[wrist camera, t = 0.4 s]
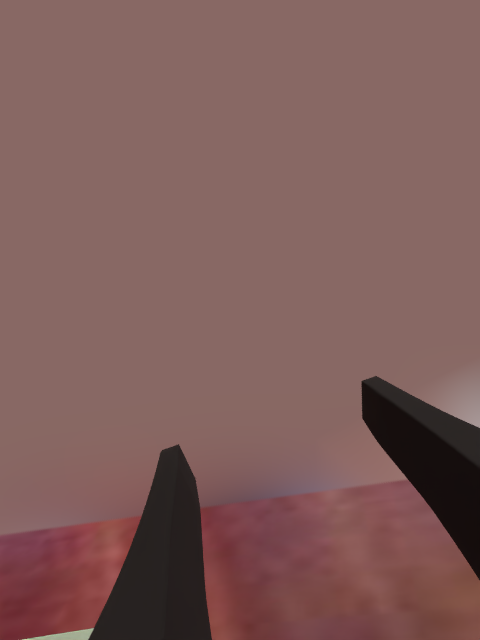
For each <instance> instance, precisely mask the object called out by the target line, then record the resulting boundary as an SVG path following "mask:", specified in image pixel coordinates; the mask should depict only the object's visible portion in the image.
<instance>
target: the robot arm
mask: <svg viewBox="0 0 480 640" xmlns="http://www.w3.org/2000/svg"><path fill="white" fill-rule="evenodd" d="M362 418H363V420H364V421H365V423H366V425H367V426H368V428H369V430H370V431H371V433H372V434H373V436H374V437H375V439H376V440H377V442H378V443H379V444H380V445H381V447H382V448H383V449H384V451H385V452H386V453H387V454H388V455H389V457H390V458H391V459H392V460H393V462H394V463H395V464H396V465H397V466H398V468H399V469H400V470H401V471H402V473H403V474H404V475H405V476H406V477H407V479H408V480H409V481H410V482H411V483H412V485H413V486H414V487H415V488H416V490H417V491H418V492H419V493H420V494H421V496H422V497H423V498H424V499H425V501H426V502H427V503H428V505H429V506H430V507H431V509H432V510H433V511H434V513H435V514H436V516H437V517H438V519H439V520H440V522H441V523H442V524H443V526H444V527H445V529H446V530H447V532H448V533H449V535H450V536H451V537H452V539H453V540H454V542H455V543H456V545H457V546H458V548H459V549H460V551H461V552H462V554H463V555H464V557H465V558H466V560H467V561H468V563H469V564H470V566H471V567H472V569H473V571H474V572H475V574H476V575H477V577H478V578H479V580H480V428H478V427H476V426H474V425H471V424H469V423H467V422H465V421H463V420H460V419H458V418H456V417H454V416H452V415H450V414H448V413H446V412H443V411H441V410H439V409H437V408H435V407H433V406H431V405H429V404H427V403H425V402H424V401H422V400H420V399H418V398H416V397H414V396H412V395H410V394H408V393H407V392H405V391H403V390H401V389H399V388H397V387H395V386H393V385H392V384H390V383H388V382H386V381H384V380H382V379H381V378H379V377H377V376H375V377H372V378H369V379H366V380H363V381H362ZM88 640H212V638H211V630H210V623H209V616H208V609H207V601H206V591H205V580H204V563H203V546H202V529H201V514H200V504H199V498H198V492H197V486H196V480H195V477H194V475H193V473H192V471H191V469H190V467H189V464H188V463H187V461H186V458H185V456H184V454H183V452H182V450H181V448H180V446H179V445H176V446H173V447H170V448H168V449H164V450H162V451H161V453H160V457H159V461H158V465H157V469H156V472H155V476H154V479H153V483H152V486H151V490H150V493H149V496H148V499H147V502H146V505H145V508H144V511H143V514H142V517H141V520H140V523H139V526H138V528H137V531H136V534H135V536H134V539H133V542H132V544H131V547H130V550H129V552H128V555H127V557H126V559H125V562H124V564H123V567H122V569H121V571H120V574H119V576H118V578H117V580H116V583H115V585H114V587H113V589H112V592H111V594H110V596H109V598H108V600H107V602H106V604H105V606H104V608H103V611H102V613H101V615H100V617H99V619H98V621H97V623H96V625H95V627H94V629H93V631H92V633H91V635H90V637H89V639H88Z"/></svg>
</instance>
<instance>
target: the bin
mask: <svg viewBox="0 0 480 640" xmlns="http://www.w3.org/2000/svg"><path fill="white" fill-rule="evenodd" d="M93 629H94V628H92V629H86V630H79V631H73V632H67V633H61V634H54V635H48V636H42V637H36V638H29V639H23V640H88V639H89V637H90V635H91V633H92V631H93Z"/></svg>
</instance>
